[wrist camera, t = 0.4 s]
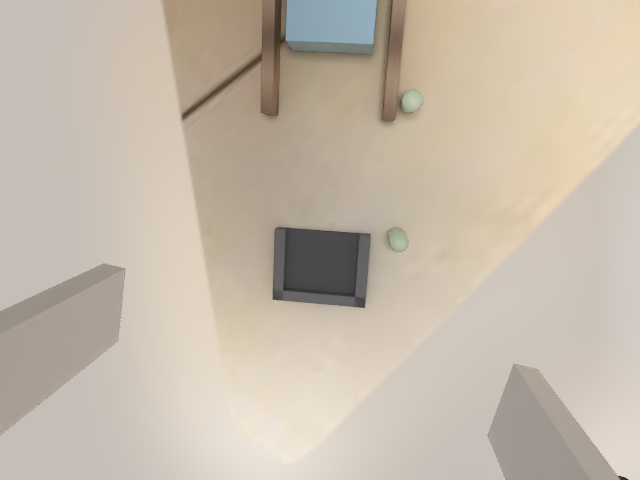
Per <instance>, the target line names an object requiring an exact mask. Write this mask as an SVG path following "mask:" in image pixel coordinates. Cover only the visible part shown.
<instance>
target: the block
mask: <svg viewBox="0 0 640 480" xmlns="http://www.w3.org/2000/svg"><path fill="white" fill-rule="evenodd" d="M376 9H377V0H287V15H286V42H287V43H288V44H289V46H290V47H291V48H292V50H293V51H308V52H330V53H353V54H373V45H374V33H375V21H376Z"/></svg>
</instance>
